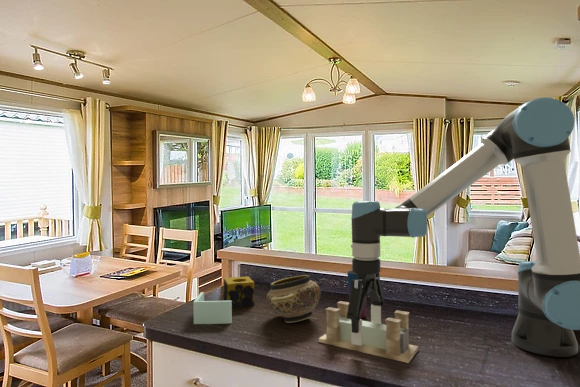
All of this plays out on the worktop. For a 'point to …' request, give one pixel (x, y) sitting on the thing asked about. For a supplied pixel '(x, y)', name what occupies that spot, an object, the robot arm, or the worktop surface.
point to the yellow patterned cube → (239, 291)
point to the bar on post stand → (391, 345)
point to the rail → (370, 334)
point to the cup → (351, 277)
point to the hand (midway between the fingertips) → (366, 335)
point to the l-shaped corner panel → (211, 311)
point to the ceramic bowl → (293, 298)
